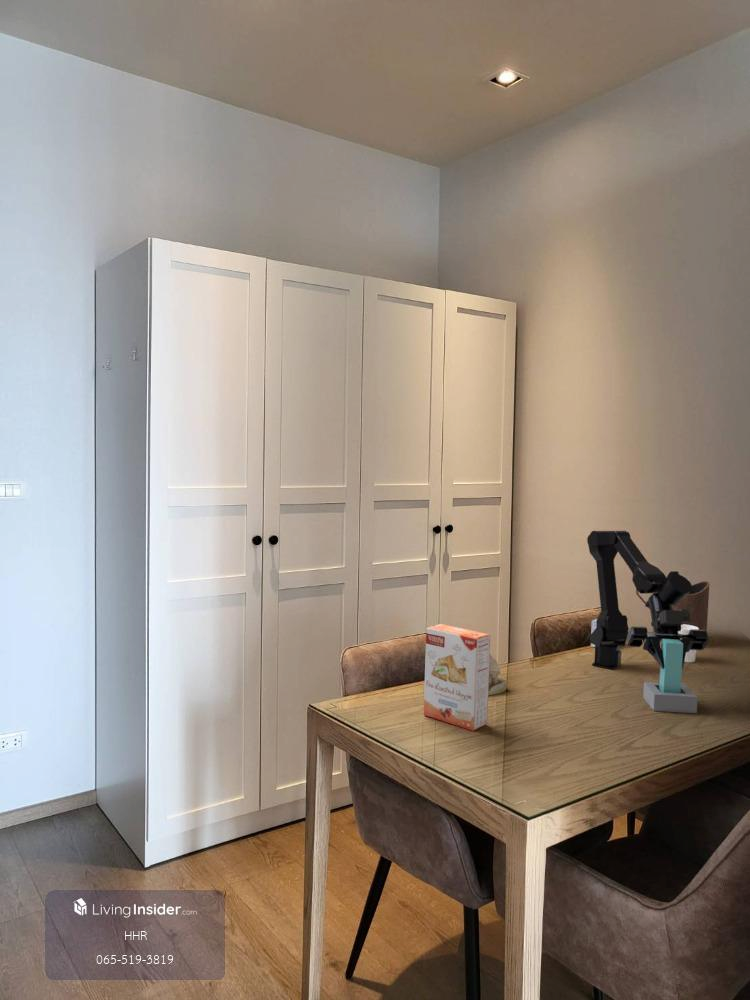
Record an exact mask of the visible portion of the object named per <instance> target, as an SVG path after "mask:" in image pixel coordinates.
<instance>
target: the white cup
mask: <svg viewBox="0 0 750 1000" xmlns="http://www.w3.org/2000/svg"><path fill="white" fill-rule="evenodd" d="M691 629H696V630H699V628H698V627H696V626H692V625H685V624H683V625H681V630H680V631H678V634H683V635H688V634H689V632H690V630H691ZM697 651H698V650H690V651H689V652H686V655H685V660H684V663H694V662H696V656H697V655H696V654H697Z"/></svg>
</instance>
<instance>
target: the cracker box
mask: <svg viewBox="0 0 750 1000" xmlns="http://www.w3.org/2000/svg"><path fill="white" fill-rule="evenodd" d="M425 629H426V632H425V660H424V665H425V667H424V687H423V689H424V692H423V693H424V695H423V716H425V717H429V718H432V719H435V720H438V721H442V722H444V723H448V724H450V725H453V726H457V727H461V728H463V729H466V730H469V731H472V732H474V731H476V730H478V729H481V728H482V727H484V726H487V724H488V711H489V710H488V708H489V707H488V706H489V695H488V688H489V660H490V655H491V634H489V633H484V632H479V631H475V630H470V629H466V628H461V627H457V626H452V625H449V624H444V623H439V624H436V625H431V626H428V627H426V628H425Z"/></svg>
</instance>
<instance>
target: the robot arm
mask: <svg viewBox="0 0 750 1000" xmlns="http://www.w3.org/2000/svg"><path fill="white" fill-rule="evenodd" d="M586 538H587V539H586V540H587V544H588V545H587V546H588V549H589V553H590V555H591V556H592V558H593V559H594V560H595V562H596V563H595V564H596V571H597V573H596V574H597V583H598V592H599V593H598V594H599V602H600V613H599V615H597V616H598V617H597V618H596V619H597V621H596V625H597V628H596V629H595V630H594V631H593V633H592V634H591V633H590V635H589V640H590V645H591V644H594V645H595V647H594V661H593V662H592V663H591V665H592V666H595V667H598V668H599V667H600V668H604V669H610V670H616V669H617V668H618V667H620V666H622V650H621V646H623V647H624V646H626V644H627V646H628V647H629V648H641V646H642V649H643V650H644V651H647V652H648V653H649V654H650V655H651V656H652V658H653V659H654V660H655V662H656V663H657V664H658V665H659V667H661V668H662V669H664V667H665V666H664V659H663V655H662V651H661V644H660V642H662V639H676V640H680V641H681V642H682V643H683V659H682V670H683V669H684V665H685V662H684V660H685V655H686V652H689V651H690V650H697V651H703V650H705V649H706V648H705V646H706V644H707V642H708V641H709V640H710V636H709V632H708V631H707V632H706V631H705V630H696V629H691V630H690V632H689V634H688V635H683V634H678V631H680V630H681V625H683V623H688V622H690V620H691V617H690V611H689V609H681V610H680V611H674V608H673V605H676V604H678V603H679V602H680V601H681V600H682V599H683V598H684V597H685V596H686V595H687V594H688V593H689V592H690V591H691V589H692V585H693V584H692V582H691V581H690V580H688V578H686V577H685V576H683V575H681V574H680V573H679V571H677V570H675V571H670V572H669V573H668V574H667V576H666V575H665V573H664V572H663V571H662V570H661V569H660V568H658V567H657V566H656V565H653V564H651V563H650V562H648V560H647V559H646V557H645V556H644V554H643V553H642V552H641V550H640V549H639V547H638V546H637V545H636V543H635V542H634V541H633V539H632V537H631V533H630V532H629V531H627V530H593V531H591V532H590V534H588V536H587V537H586ZM618 554H619V555H620V556H621V558H622V560H623V561H624V562H625V564H626V565H627V567H628V568H629V570H630V571H631V573H632V579H631V580H632V582H633V584H634V587H635V590H636V589H637V591H638V594H650V596H649V597H648V600H647V601H645V602H646V604H645V603H644V606H645V607H646V608H648V607H649V608H650V609H649V608H648V609H649V610H650V617H651V624H650V625H651V627H652V628H653V630H648V628H647V627H646V626H631V627H630V628H629V625H628V617H627V615H626V614H625V615H624V614H623V613H622V612H621V611H620V608H619V606H620V605H619V599H618V598H619V597H618V588H617V580H616V571H615V569H616V568H615V559H616V556H617V555H618Z"/></svg>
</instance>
